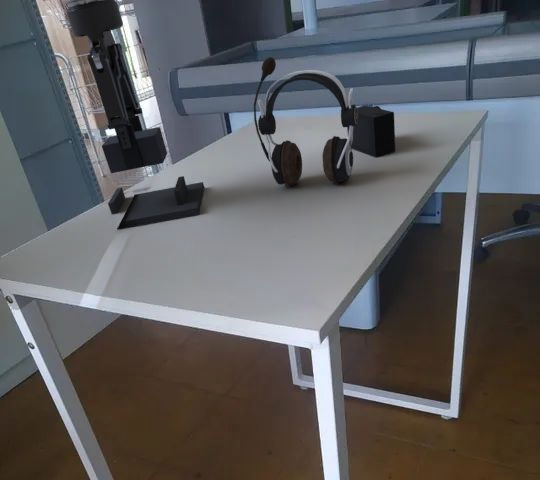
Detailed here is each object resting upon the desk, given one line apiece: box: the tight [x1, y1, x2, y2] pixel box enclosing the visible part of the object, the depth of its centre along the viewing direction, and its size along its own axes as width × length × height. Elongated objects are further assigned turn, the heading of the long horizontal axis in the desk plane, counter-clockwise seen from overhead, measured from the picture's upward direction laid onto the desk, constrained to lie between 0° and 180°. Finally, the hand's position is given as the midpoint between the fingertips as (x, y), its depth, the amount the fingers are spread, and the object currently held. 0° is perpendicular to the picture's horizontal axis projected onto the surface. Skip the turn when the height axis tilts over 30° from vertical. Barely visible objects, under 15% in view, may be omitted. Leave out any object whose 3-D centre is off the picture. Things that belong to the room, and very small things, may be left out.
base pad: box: [107, 175, 205, 230], centre depth 96 cm, size 18×14×4 cm
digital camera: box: [346, 104, 396, 158], centre depth 103 cm, size 10×5×7 cm, turn 22°
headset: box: [253, 56, 358, 188], centre depth 88 cm, size 17×8×20 cm, turn 71°
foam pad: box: [101, 126, 168, 174], centre depth 92 cm, size 9×6×4 cm, turn 92°
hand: (139, 161), depth 93 cm, fingers closed on foam pad, 6 cm apart
